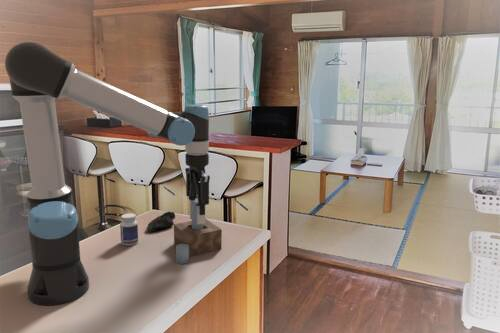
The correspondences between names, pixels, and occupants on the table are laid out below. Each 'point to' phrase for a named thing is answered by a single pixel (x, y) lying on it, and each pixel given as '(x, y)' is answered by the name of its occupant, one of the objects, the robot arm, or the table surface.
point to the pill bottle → (129, 229)
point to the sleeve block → (198, 237)
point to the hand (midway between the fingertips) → (197, 220)
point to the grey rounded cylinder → (182, 253)
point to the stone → (161, 222)
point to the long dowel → (195, 216)
